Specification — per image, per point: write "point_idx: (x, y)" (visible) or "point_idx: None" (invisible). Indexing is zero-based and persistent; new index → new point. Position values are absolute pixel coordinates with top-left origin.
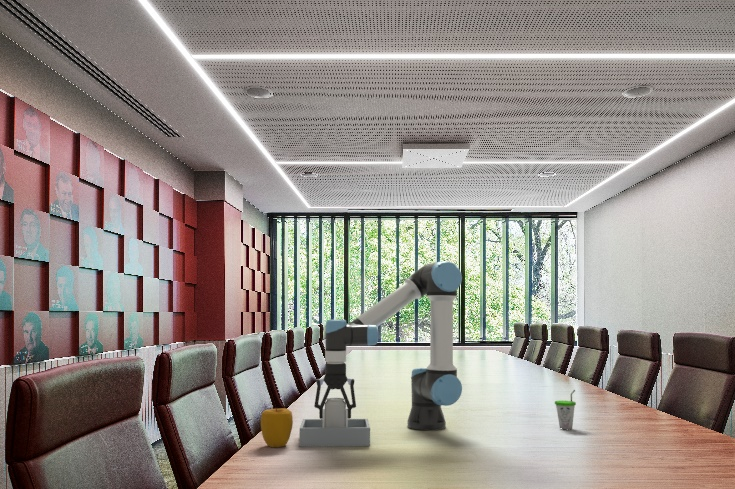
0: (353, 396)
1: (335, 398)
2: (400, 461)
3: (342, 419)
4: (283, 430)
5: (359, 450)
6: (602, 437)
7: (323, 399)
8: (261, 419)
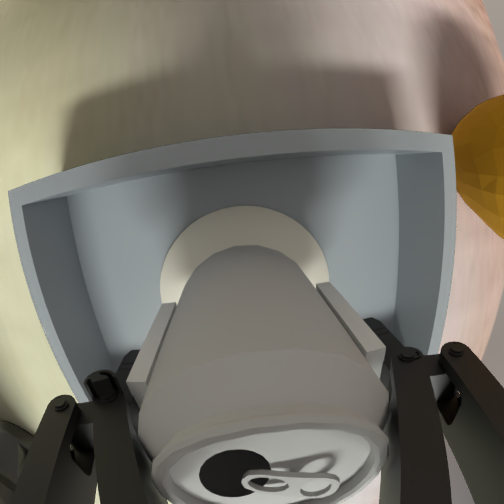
0: (31, 476)
1: None
2: (10, 3)
3: (181, 304)
4: (492, 99)
5: (100, 82)
6: None
7: (432, 421)
8: None
